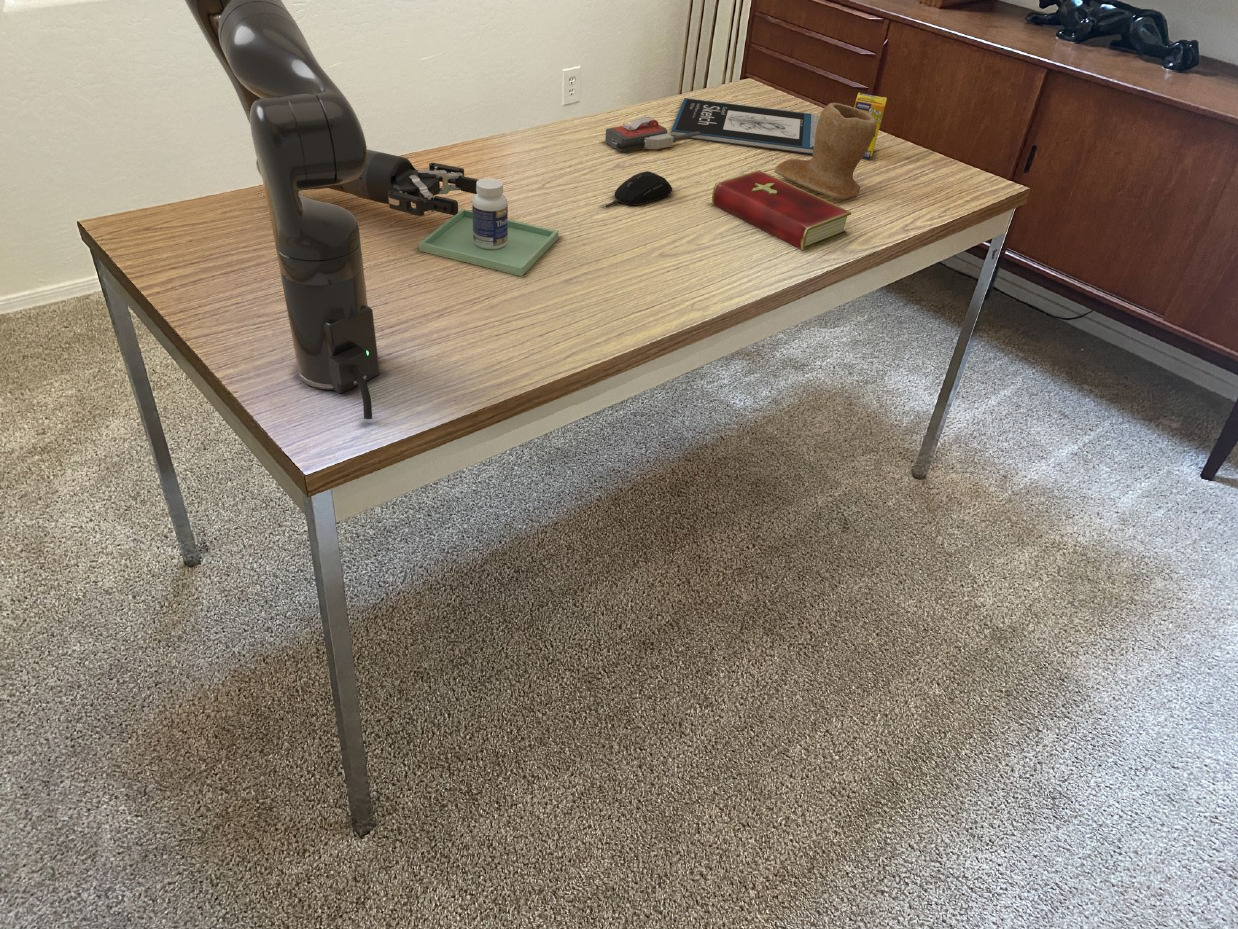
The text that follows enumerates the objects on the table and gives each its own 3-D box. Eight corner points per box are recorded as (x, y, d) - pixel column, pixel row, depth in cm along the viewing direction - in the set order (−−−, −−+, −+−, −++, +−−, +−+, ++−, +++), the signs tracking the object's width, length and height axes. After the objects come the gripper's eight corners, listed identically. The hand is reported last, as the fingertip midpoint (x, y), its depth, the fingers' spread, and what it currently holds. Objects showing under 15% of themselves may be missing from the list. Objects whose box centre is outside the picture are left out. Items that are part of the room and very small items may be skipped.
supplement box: (841, 155, 183) (854, 100, 176) (844, 145, 188) (857, 91, 181) (871, 160, 182) (885, 105, 175) (873, 150, 187) (887, 96, 180)
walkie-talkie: (624, 158, 173) (702, 141, 183) (626, 135, 170) (705, 120, 180) (597, 143, 178) (675, 127, 188) (599, 120, 175) (677, 106, 185)
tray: (558, 238, 145) (558, 230, 144) (521, 276, 134) (521, 268, 133) (462, 215, 148) (462, 208, 148) (419, 250, 138) (419, 242, 137)
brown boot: (872, 193, 169) (894, 112, 159) (835, 208, 162) (856, 125, 153) (808, 167, 177) (825, 88, 167) (770, 180, 170) (786, 99, 160)
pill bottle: (501, 252, 139) (501, 192, 133) (468, 247, 139) (466, 186, 133) (512, 238, 143) (512, 179, 137) (479, 232, 144) (478, 173, 137)
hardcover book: (801, 251, 148) (807, 227, 145) (710, 205, 159) (714, 182, 157) (846, 233, 154) (851, 210, 152) (755, 190, 166) (759, 168, 163)
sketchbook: (683, 103, 201) (684, 94, 199) (817, 122, 198) (819, 112, 197) (670, 136, 184) (671, 125, 183) (816, 156, 182) (819, 146, 180)
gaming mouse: (594, 200, 157) (595, 178, 154) (654, 182, 165) (656, 161, 163) (618, 213, 154) (620, 191, 151) (678, 194, 162) (681, 172, 159)
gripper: (349, 168, 133) (447, 191, 130) (398, 138, 144) (490, 158, 140) (355, 216, 138) (449, 239, 135) (402, 183, 149) (491, 204, 145)
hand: (470, 197), depth 138 cm, fingers open, 8 cm apart
